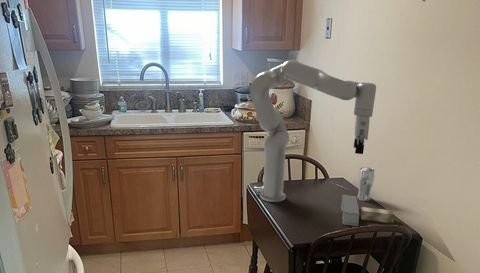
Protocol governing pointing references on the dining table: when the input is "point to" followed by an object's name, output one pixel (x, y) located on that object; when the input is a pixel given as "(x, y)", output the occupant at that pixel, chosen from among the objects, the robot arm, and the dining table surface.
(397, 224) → the dining table surface
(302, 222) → the dining table surface
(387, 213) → the bar
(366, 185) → the beer glass
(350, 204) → the housing
